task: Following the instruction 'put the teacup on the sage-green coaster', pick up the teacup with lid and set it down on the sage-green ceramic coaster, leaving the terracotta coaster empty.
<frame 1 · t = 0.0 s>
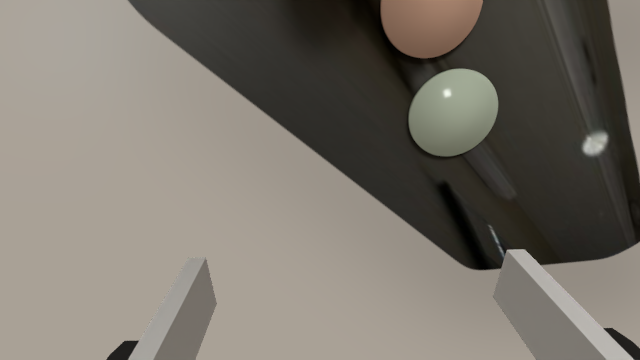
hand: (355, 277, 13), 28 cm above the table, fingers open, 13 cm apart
sage coaster: (450, 113, 38), on the table
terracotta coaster: (429, 4, 33), on the table
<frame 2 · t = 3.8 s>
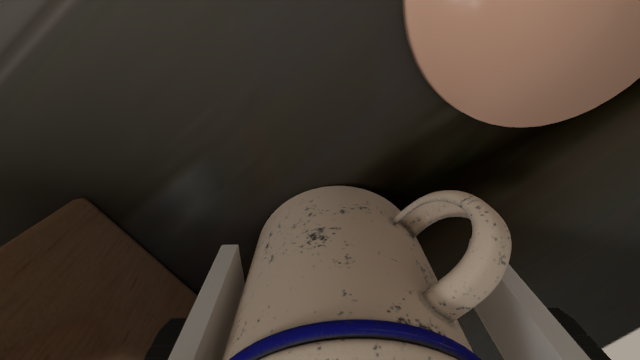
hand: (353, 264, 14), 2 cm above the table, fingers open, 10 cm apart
teacup with lid: (352, 232, 16), on the table, touching gripper
wooden block: (126, 266, 17), on the table
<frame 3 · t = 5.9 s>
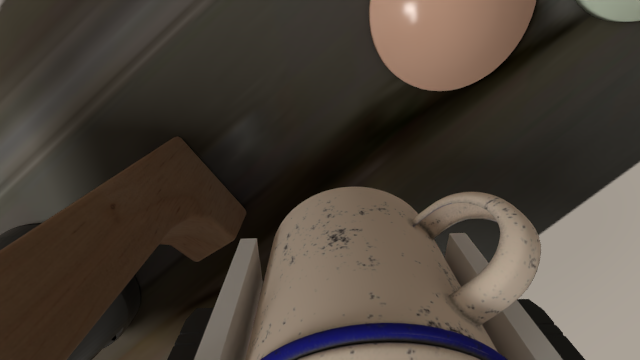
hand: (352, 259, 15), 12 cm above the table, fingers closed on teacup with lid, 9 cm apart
teacup with lid: (367, 233, 16), point 10 cm above the table, touching gripper
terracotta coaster: (448, 7, 21), on the table
wooden block: (198, 186, 27), on the table
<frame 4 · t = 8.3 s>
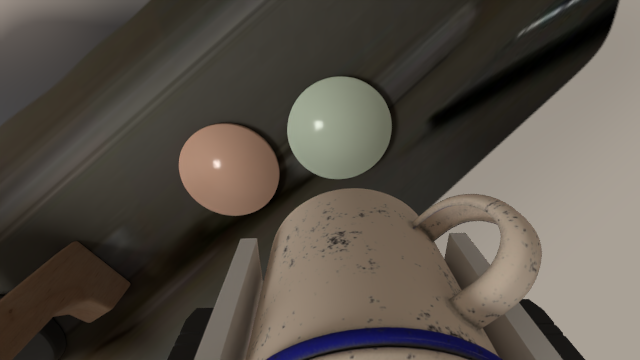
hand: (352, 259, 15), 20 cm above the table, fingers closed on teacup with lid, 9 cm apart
sage coaster: (339, 129, 32), on the table
teacup with lid: (367, 235, 16), point 18 cm above the table, touching gripper
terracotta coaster: (231, 170, 34), on the table
wooden block: (95, 268, 40), on the table
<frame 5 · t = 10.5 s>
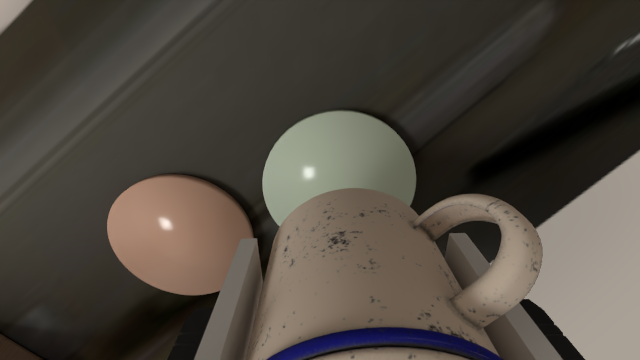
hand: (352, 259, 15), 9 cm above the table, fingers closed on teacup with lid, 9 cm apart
sage coaster: (338, 183, 22), on the table
teacup with lid: (367, 235, 16), point 7 cm above the table, touching gripper
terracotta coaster: (185, 236, 24), on the table
wooden block: (12, 352, 30), on the table
when the fingers open (4 cm above the table, at t = 12.3 s): teacup with lid drops 2 cm, resting on sage coaster.
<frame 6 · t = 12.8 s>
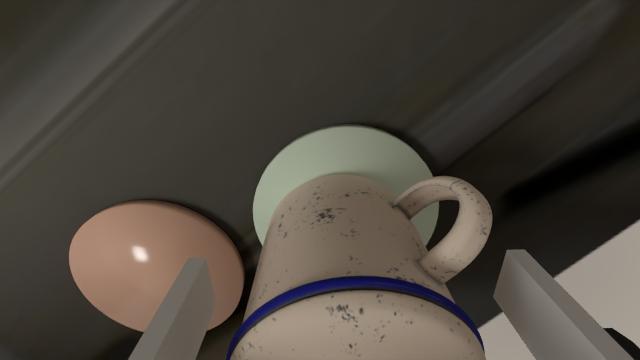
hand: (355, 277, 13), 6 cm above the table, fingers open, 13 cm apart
sage coaster: (344, 211, 19), on the table
teacup with lid: (354, 218, 18), point 1 cm above the table, touching sage coaster
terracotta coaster: (163, 270, 20), on the table
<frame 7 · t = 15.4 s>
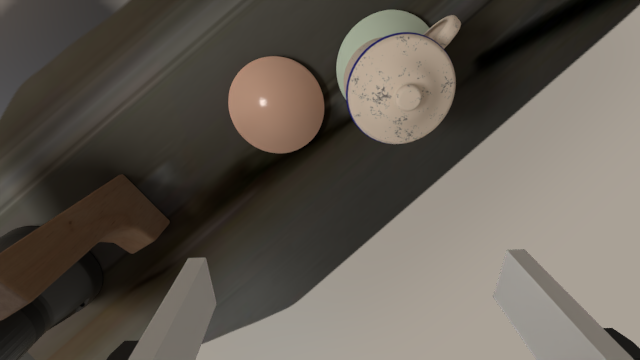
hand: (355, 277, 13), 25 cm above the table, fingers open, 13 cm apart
sage coaster: (386, 67, 33), on the table
teacup with lid: (391, 69, 33), point 1 cm above the table, touching sage coaster
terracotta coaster: (277, 106, 35), on the table
wooden block: (137, 204, 41), on the table
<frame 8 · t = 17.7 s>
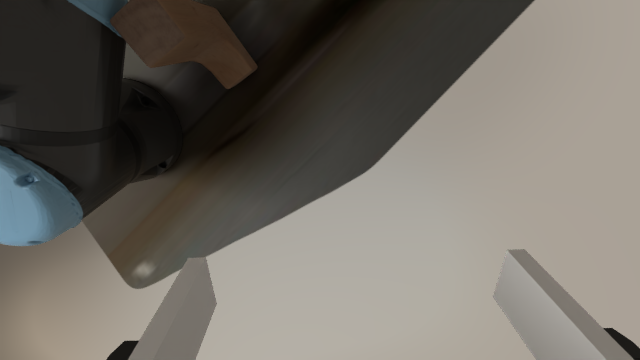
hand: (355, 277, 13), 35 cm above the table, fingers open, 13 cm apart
wooden block: (226, 48, 41), on the table, touching arm
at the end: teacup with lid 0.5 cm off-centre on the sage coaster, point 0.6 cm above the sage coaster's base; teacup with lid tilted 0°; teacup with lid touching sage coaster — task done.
